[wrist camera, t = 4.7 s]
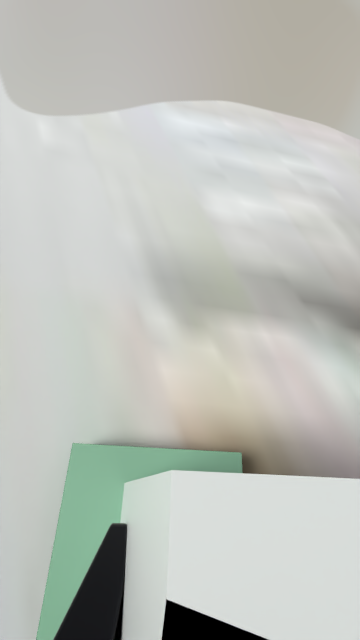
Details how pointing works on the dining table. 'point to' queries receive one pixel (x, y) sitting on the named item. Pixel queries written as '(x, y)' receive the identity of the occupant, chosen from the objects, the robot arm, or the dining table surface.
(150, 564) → the column on green base
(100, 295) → the dining table surface
